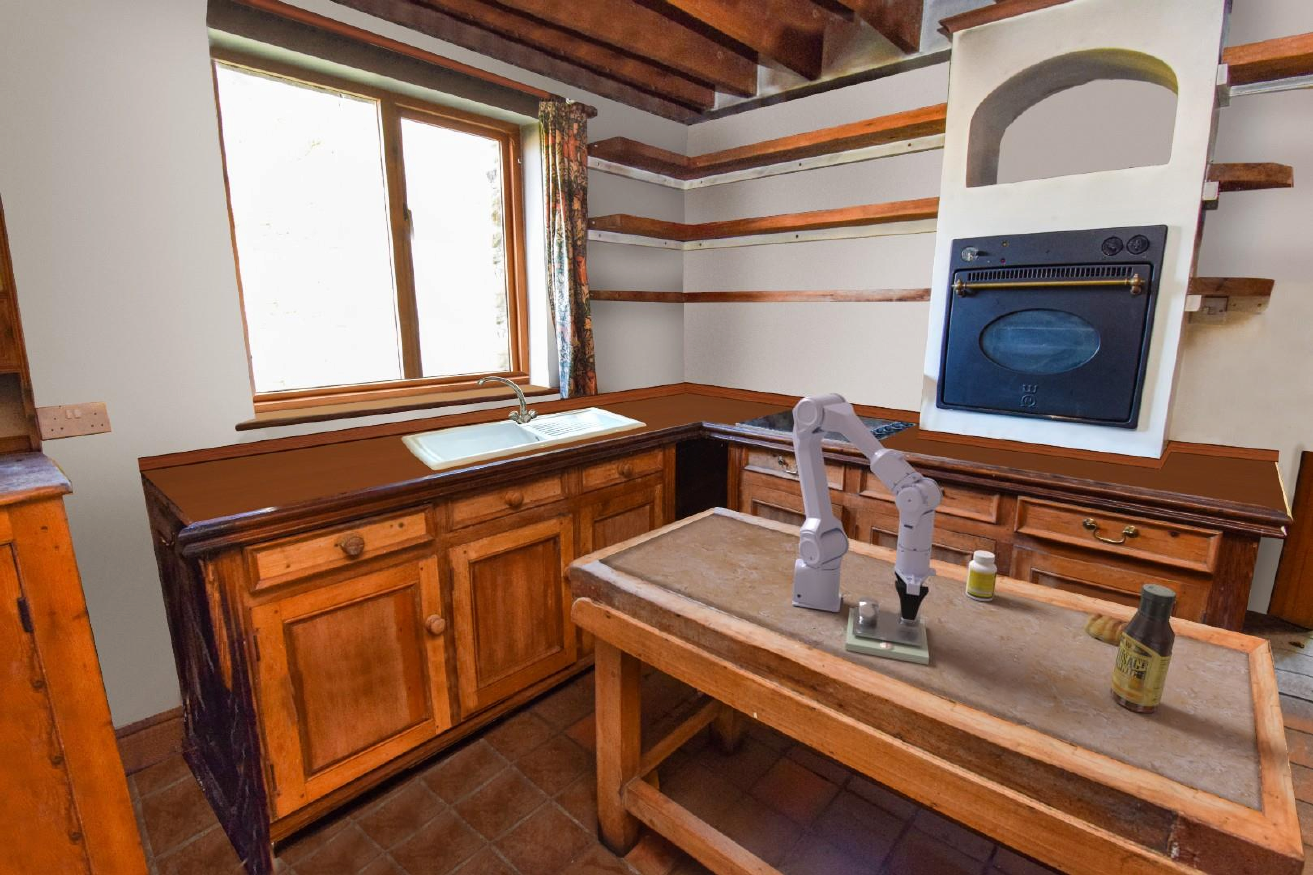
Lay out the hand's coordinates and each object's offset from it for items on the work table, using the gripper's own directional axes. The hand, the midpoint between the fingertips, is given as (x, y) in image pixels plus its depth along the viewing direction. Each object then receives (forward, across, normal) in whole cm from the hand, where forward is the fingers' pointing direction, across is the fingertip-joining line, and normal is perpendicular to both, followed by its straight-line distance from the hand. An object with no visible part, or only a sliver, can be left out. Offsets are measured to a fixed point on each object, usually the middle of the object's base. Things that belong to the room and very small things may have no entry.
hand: (907, 613), depth 115 cm
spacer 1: (+3, 0, +7) cm, 8 cm away
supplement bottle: (+6, +24, -16) cm, 29 cm away
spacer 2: (+2, 0, 0) cm, 2 cm away
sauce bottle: (+6, -8, -34) cm, 35 cm away
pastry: (+6, +14, -37) cm, 40 cm away
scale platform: (+4, 0, +3) cm, 6 cm away
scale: (+5, 0, +4) cm, 6 cm away
